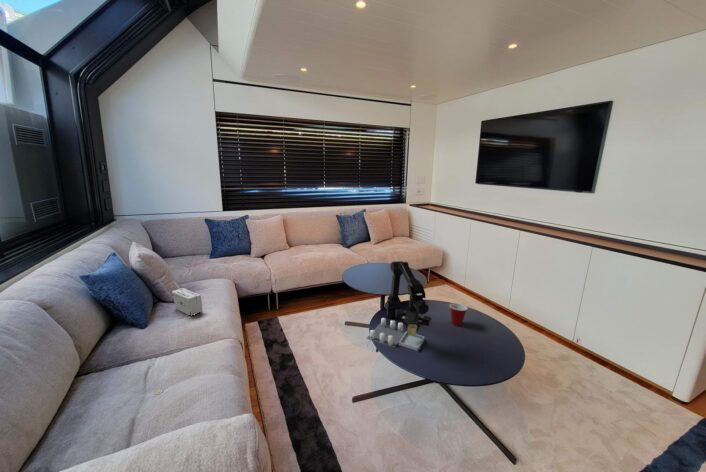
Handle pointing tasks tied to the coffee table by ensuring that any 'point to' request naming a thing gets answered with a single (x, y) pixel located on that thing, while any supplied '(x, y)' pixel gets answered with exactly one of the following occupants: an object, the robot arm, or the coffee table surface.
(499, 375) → the coffee table surface
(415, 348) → the nut tray
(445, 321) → the coffee table surface
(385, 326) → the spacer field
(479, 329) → the coffee table surface
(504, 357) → the coffee table surface
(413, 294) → the robot arm
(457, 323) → the plastic cup
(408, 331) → the tan faceted polyhedron
